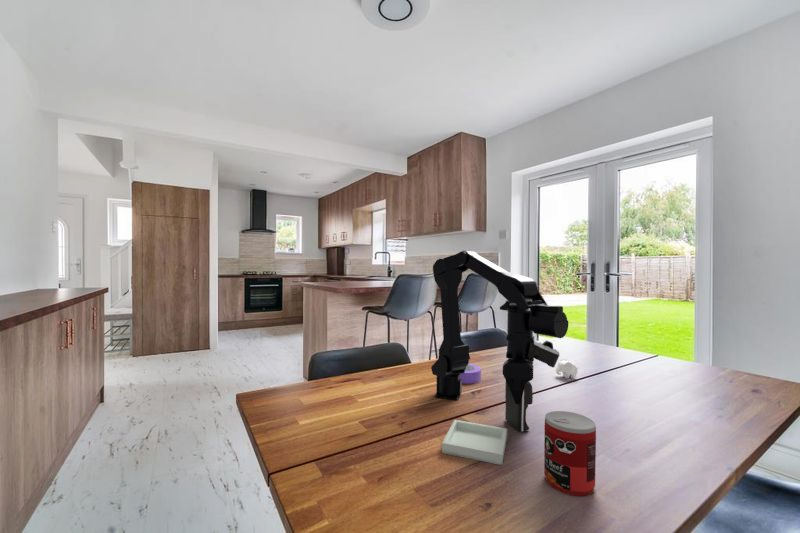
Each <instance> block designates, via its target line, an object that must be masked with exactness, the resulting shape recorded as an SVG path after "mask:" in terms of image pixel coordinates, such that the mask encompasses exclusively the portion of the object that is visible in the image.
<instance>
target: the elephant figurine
mask: <svg viewBox="0 0 800 533" xmlns="http://www.w3.org/2000/svg"><path fill="white" fill-rule="evenodd" d="M556 365H557V366H556V367H555V372H556V374H557V375H561V374H562V376H563V377H564V378H565V379H570V378H571V379H573V380H575V378H576V377H577V375H578V369H580V366H579V367H577V366H576V365H575V364H574V363H573V362H571V361H568V359H567V358H564V357H562V358H561V359H560V360H559V362H557V364H556ZM561 372H562V373H561Z"/></svg>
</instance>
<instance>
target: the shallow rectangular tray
mask: <svg viewBox="0 0 800 533" xmlns="http://www.w3.org/2000/svg"><path fill="white" fill-rule="evenodd" d="M507 439H508V428H505V427H499V426H494V425H488V424H483V423H476V422H470V421H464V420H458V419H454V420H453V421H452V423H451V425H450V428H449V430H448V432H446V435H445V436H444V439H443V440H442V442H441V444H442V445H441V451H442V452H441V453H442V454H446V455H450V456H455V457H461V458H463V459H464V458H465V459H469V460H473V461H474V460H475V461H480V462H484V463H489V464H493V465H499V466H503V463H504V459H505V452H506V445H507Z"/></svg>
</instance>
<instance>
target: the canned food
mask: <svg viewBox="0 0 800 533" xmlns="http://www.w3.org/2000/svg"><path fill="white" fill-rule="evenodd" d="M543 446H544V447H543V448H544V451H543V452H544V457H543V458H544V459H543V460H544V464H543V465H544V468H543V469H544V472H543V473H544V477H545V480H546V482H547V484H548V485H550V486H551V487H552V488H553V489H555V490H556V491H557V492H558V491H559V492H561V493H563V494H565V495H569V496H573V497H574V496H575V497H584V496H588V495H590V494H592V493H593V492H594V489H595V487H596V461H597V460H596V458H597V457H596V455H597V454H596V452H597V450H596V448H597V447H596V446H597V426H596V422H595V421H594V420H593V419H592V418H590V417H588V416H585V415H582V414H580V413H575V412H572V411H564V410H555V411H550V412H547V413H546V414H545V417H544V444H543Z"/></svg>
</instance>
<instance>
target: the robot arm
mask: <svg viewBox="0 0 800 533" xmlns="http://www.w3.org/2000/svg"><path fill="white" fill-rule="evenodd" d="M469 270H470V271H472V272H474V273H475V274H477V275H478V276H480V277H482V278H483V279H485V280H486V281H488V282H489V283H491V284H493V285H494V286H495V287H496V289H497V290H498V291H497V292H498V293H499V294H500V295H501V296H502V297H503V298H504V299H506V301H505V303H503V304H502V305H500V307H499V310H500V311H506V312H507V319H506V320H507V323H506V324H507V328H506V329H507V330H506V339H505V340H506V353H505V354H506V355H505V357H506V360H505V361H504V362H503V365H502V375H503V378H504V379H505V383H506V382H507V384H508V387H509V389H510V391H511V394H512V396H513V399H514V401H515V404H519V405H520V404H521V400H522V396H523V392H524V387H525V384H526V383H527V382H530V381H533V380H534V361H535V360H537V361H539V362H541V363H543V364H546V365H547V366H548V367H550V368H556V367H555V366H556V365H557V363H558V360H559V357H560V352H559V351H558V349H556V348H554V345H553V342H552V341H549V340H545V341H544V342H542V343H541V342H537V341H536V340H535V336H534V334H535V335H541V336H546V337H552V338H557V339H562V338H564V337H565V336H566V334H567V333H568V329H569V320H568V318H567V315H566V313H565V312H564V306H563V305H548V303H547V301H546V300H545V298H544V297H543V296H542V293H541V292H540V291H539V289H538V283H537V281H535V280H534V279H533V278H531V277H528V276H525V275H522V274H518V273H513V272H510V271H507V270H505V269H504V268H502V267H500V266H499V265H497V264H495V263H494V262H491V261H490V260H488V259H487V258H485V257H482V256H481V255H479V254H478V253H477V252H476V251H473V250H462V251H459V252H458V253H456V254H453V255H449V256H447V257H444V258H438V259H436V261H435V262H434V263H433V265H432V273H433V277H434V279H433V280H434V282H435V283H436V285H437V287H438V288H439V290H440V304H441V305H440V306H441V320H442V334H443V335H442V337H443V339H442V341H441V344H440V346H439V349H438V357H437V358H438V359H437V360H436V361H435V362H434V363H433V364H432V365H431V366H430V367H431V368H430V369H431V373H432V375H434V376H436V393H435V394H434V397H435V398H441V399H445V400H447V399H449V400H454V401H457V400H458V399H459V397H460V396H461V395H462V394H463V393H462V392H463V390H462V389H463V383H462V379H460V374H463V373H464V372H465V369H466V367H467V365H468V363H470V362H469V361H470V360H471V355H470V346H469V344H466V343H464V341H463V340H462V336H461V322H460V321H461V320H460V309H459V308H460V306H459V292H458V290H459V288H460V284H461V282H462V280H463V273H465V272H467V271H469Z"/></svg>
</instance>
